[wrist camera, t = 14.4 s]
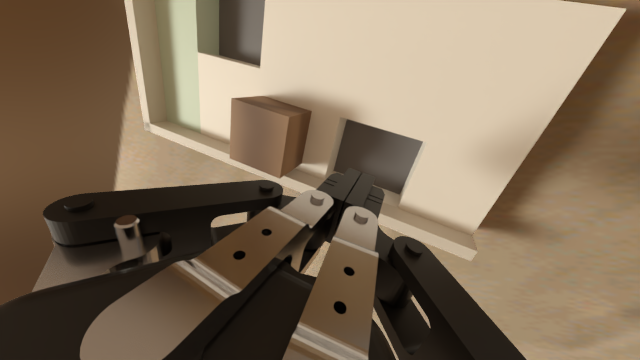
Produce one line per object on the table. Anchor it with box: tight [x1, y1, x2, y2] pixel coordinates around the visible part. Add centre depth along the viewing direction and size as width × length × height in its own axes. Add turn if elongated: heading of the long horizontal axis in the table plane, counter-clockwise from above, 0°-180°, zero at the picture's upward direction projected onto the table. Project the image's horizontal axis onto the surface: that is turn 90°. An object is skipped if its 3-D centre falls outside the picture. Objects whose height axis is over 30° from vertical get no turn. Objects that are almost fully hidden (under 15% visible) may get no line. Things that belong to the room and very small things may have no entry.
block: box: [230, 96, 312, 179], centre depth 19 cm, size 5×5×4 cm
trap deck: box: [125, 0, 626, 261], centre depth 19 cm, size 34×16×5 cm, turn 78°
